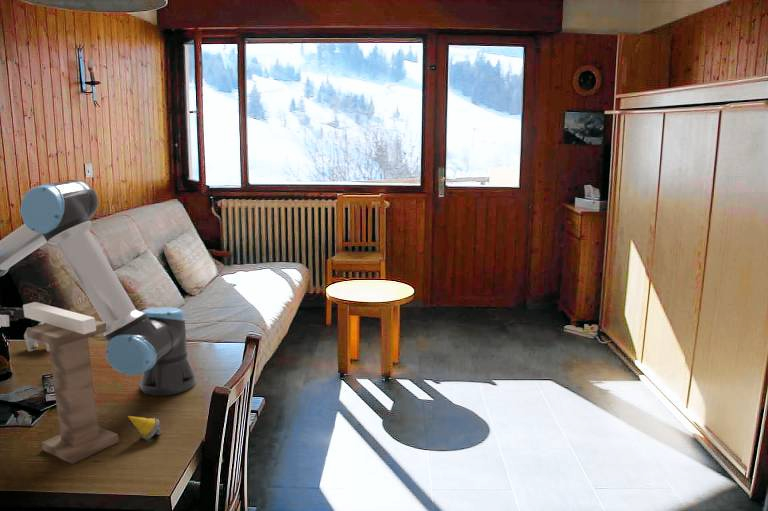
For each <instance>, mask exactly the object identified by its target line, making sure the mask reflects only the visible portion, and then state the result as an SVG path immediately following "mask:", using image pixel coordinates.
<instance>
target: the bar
mask: <svg viewBox="0 0 768 511" xmlns="http://www.w3.org/2000/svg"><path fill="white" fill-rule="evenodd" d="M22 308H23V310H24V317H26V318H25V319H30V320H33V321H37V322H39V323H41V322H42V323H44V324H45V323H47V324H50V325H54V326H57V327H60V328H64V329H67V330H71V331H74V332H77V333H81V334H87V333H90V332H93V331H96V324H95V320H96V318H95V317H93V316H91V315H86V314H82V313H79V312H74V311H71V310H67V309H64V308H60V307H57V306H51V305H48V304H45V303H41V302H37V301H32V302H29V303H26V304H23V305H22Z"/></svg>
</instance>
